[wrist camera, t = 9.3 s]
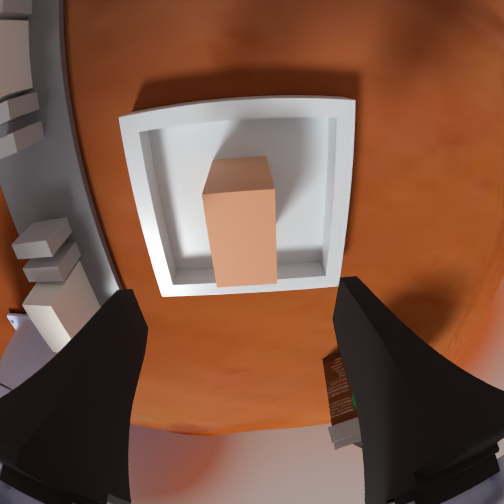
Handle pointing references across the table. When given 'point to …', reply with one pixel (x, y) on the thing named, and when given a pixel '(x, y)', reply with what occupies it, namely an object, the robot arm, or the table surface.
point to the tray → (239, 146)
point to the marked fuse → (241, 221)
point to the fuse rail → (49, 163)
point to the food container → (341, 404)
